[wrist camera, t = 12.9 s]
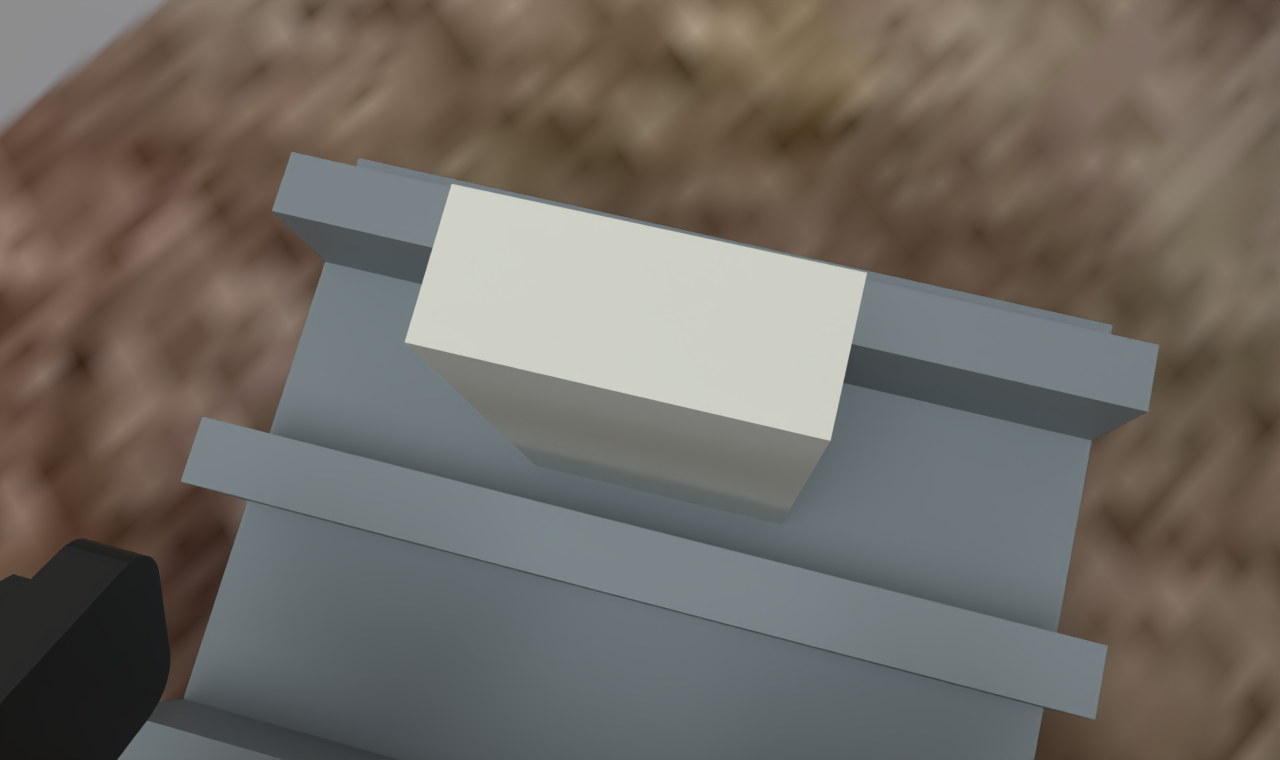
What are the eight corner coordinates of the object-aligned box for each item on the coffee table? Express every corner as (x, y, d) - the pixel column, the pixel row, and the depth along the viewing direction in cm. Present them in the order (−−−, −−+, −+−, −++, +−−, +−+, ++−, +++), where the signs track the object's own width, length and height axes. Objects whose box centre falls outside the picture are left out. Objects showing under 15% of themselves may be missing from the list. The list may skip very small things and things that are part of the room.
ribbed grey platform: (1093, 339, 24) (1170, 279, 20) (963, 1049, 21) (1021, 1147, 17) (374, 179, 26) (311, 94, 22) (171, 815, 23) (55, 853, 19)
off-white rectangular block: (802, 426, 23) (866, 273, 13) (781, 524, 23) (830, 441, 13) (560, 371, 23) (451, 183, 14) (535, 465, 23) (404, 342, 13)
